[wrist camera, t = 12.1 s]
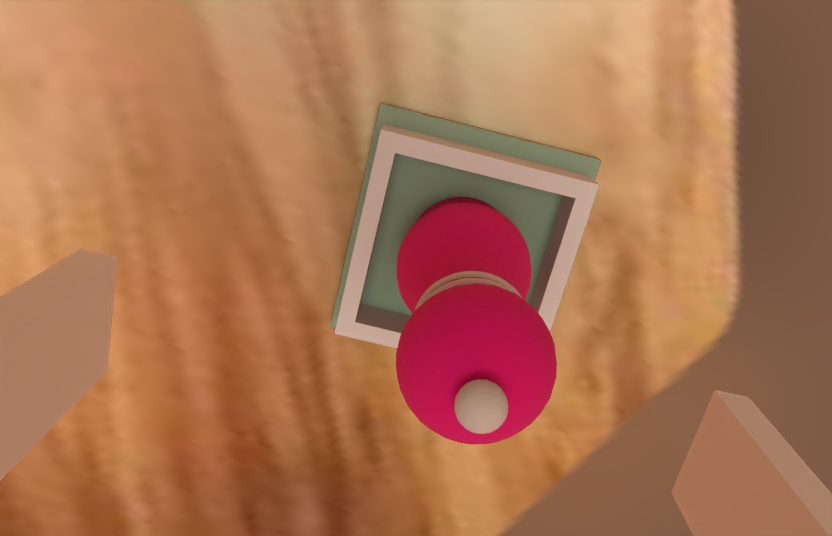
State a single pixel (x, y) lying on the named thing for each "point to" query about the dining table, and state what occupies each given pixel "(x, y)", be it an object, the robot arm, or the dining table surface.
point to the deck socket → (457, 177)
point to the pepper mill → (471, 325)
